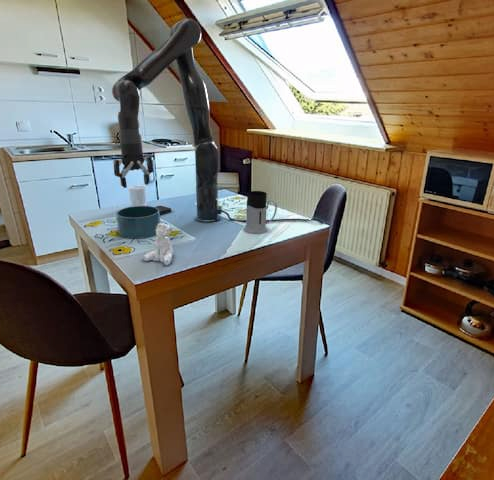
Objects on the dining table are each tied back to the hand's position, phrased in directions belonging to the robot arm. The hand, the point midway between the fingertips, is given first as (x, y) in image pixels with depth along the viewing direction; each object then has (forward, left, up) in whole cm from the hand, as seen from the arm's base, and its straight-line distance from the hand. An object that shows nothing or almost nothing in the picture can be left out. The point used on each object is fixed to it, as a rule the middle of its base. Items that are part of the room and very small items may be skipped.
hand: (135, 185), depth 130 cm
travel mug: (-48, -3, -18) cm, 51 cm away
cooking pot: (0, 0, -18) cm, 18 cm away
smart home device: (+2, -21, -18) cm, 28 cm away
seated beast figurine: (-15, +25, -18) cm, 34 cm away
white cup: (+10, -32, -18) cm, 38 cm away
